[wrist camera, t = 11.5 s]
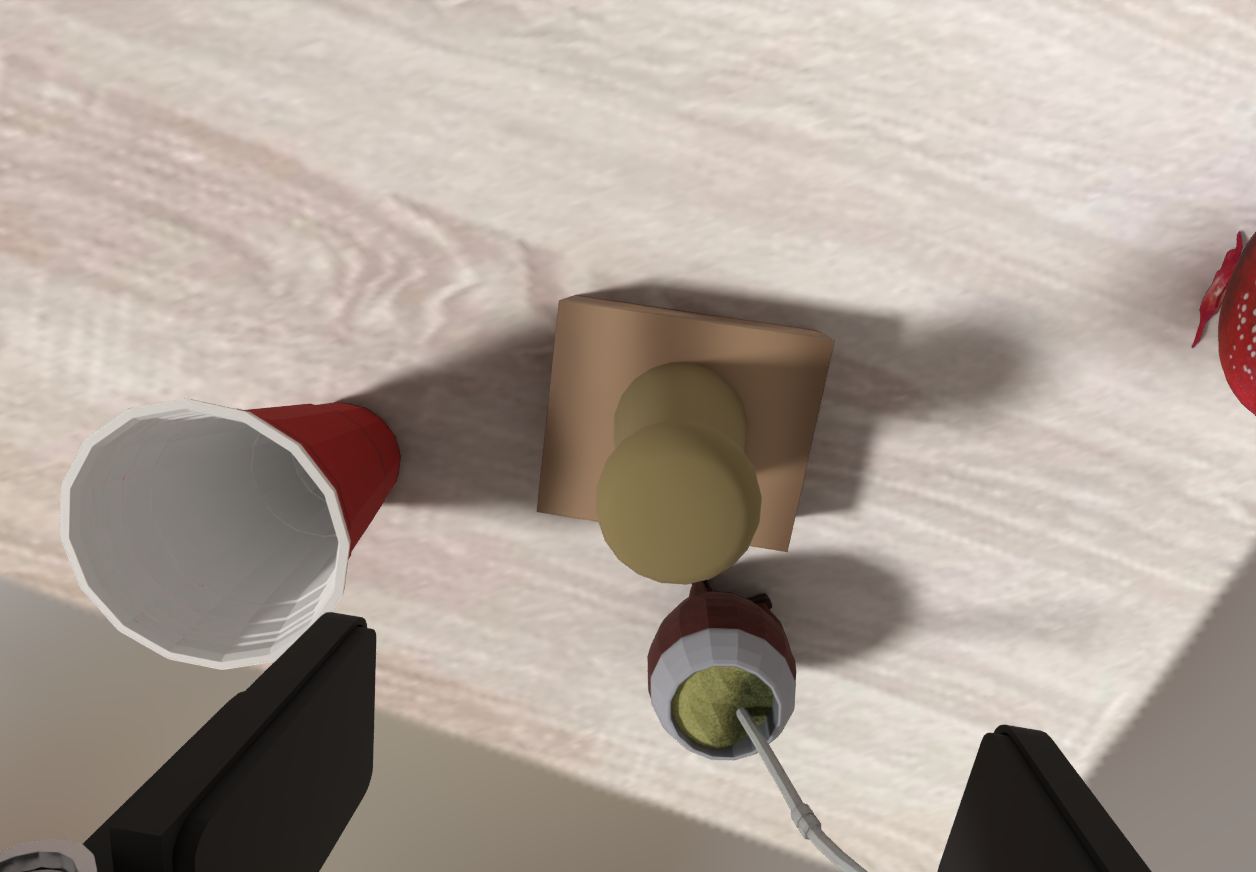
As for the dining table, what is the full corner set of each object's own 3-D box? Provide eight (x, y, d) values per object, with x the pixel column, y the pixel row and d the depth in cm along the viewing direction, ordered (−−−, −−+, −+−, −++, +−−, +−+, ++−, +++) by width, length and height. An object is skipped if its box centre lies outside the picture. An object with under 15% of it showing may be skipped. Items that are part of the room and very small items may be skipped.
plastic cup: (483, 509, 36) (388, 629, 24) (316, 567, 38) (154, 704, 26) (397, 322, 34) (246, 357, 22) (223, 394, 35) (-1, 460, 24)
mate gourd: (633, 583, 36) (599, 799, 22) (767, 535, 35) (826, 732, 21) (684, 692, 38) (684, 960, 24) (815, 650, 36) (901, 908, 22)
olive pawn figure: (715, 339, 28) (732, 387, 18) (768, 460, 30) (814, 573, 19) (590, 395, 30) (538, 472, 19) (647, 510, 31) (627, 642, 20)
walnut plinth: (816, 330, 32) (834, 340, 28) (776, 519, 35) (787, 552, 31) (574, 295, 32) (558, 300, 29) (552, 483, 35) (536, 511, 31)
